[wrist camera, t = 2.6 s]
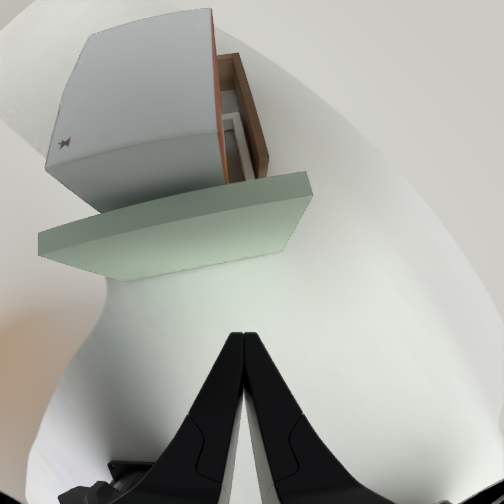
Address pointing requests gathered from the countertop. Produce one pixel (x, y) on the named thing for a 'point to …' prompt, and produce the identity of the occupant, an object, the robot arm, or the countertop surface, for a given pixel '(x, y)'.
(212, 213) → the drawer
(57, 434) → the countertop surface
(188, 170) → the small box
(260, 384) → the robot arm
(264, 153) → the brown cardboard tray
